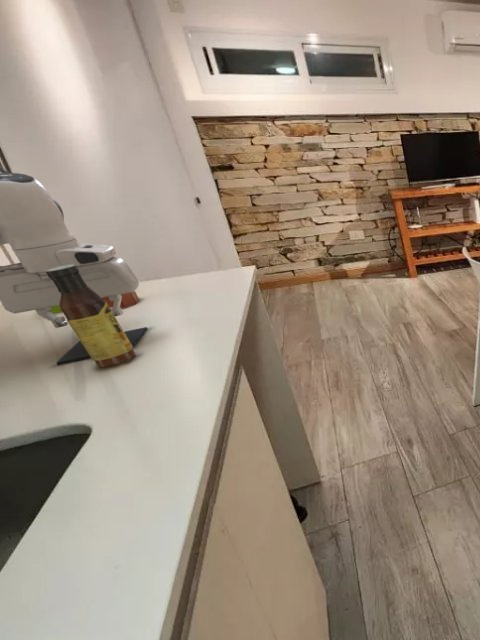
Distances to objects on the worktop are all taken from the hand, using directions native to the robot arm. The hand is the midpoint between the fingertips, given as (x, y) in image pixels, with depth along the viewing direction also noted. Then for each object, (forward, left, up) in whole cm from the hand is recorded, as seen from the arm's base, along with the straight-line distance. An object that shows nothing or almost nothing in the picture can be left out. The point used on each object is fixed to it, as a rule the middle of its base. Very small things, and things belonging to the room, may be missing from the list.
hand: (90, 320), depth 101 cm
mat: (0, 0, -6) cm, 6 cm away
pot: (-7, +34, -6) cm, 35 cm away
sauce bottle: (+5, -12, -6) cm, 14 cm away
